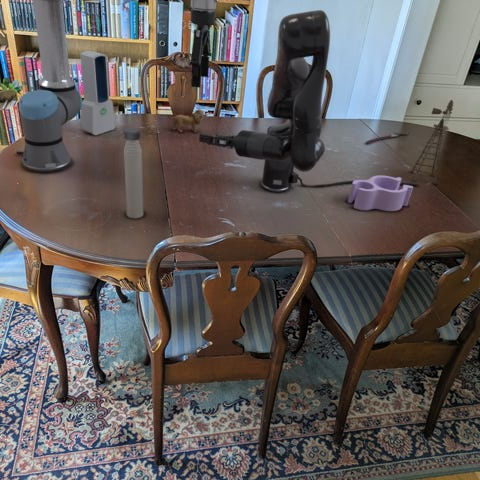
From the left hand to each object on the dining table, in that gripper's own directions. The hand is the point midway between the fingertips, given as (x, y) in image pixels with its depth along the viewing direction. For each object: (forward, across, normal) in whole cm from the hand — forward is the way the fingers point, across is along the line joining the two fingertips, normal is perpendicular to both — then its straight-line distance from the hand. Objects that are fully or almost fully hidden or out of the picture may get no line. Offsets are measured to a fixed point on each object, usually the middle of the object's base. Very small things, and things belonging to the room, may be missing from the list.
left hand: (200, 81), depth 152 cm
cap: (+5, -38, +10) cm, 40 cm away
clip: (+30, -8, -64) cm, 71 cm away
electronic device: (+30, +23, +45) cm, 59 cm away
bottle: (+30, -38, +10) cm, 50 cm away
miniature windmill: (+30, +19, -85) cm, 92 cm away
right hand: (+11, -20, -7) cm, 24 cm away
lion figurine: (+30, +36, +11) cm, 48 cm away
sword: (+30, +59, -77) cm, 101 cm away
